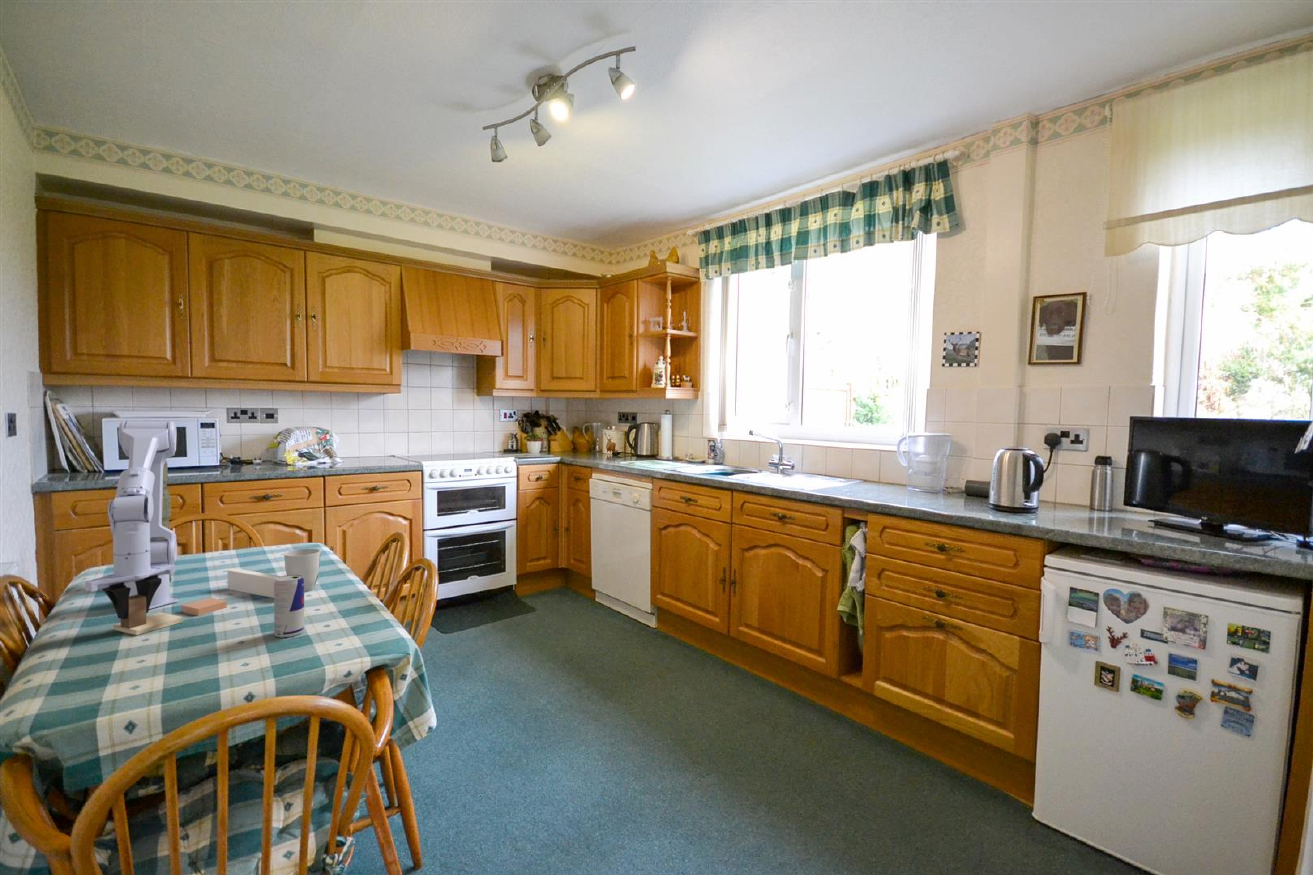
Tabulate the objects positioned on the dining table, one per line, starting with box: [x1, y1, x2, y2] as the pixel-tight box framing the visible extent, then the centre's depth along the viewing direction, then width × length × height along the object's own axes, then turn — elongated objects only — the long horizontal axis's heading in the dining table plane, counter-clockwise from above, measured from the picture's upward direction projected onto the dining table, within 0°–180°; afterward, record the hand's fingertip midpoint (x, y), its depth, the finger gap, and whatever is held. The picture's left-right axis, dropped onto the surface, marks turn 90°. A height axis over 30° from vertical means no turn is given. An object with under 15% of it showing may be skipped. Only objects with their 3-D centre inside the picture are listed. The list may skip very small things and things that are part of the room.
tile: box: [181, 597, 228, 616], centre depth 132 cm, size 6×6×2 cm
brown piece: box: [113, 594, 184, 636], centre depth 122 cm, size 8×8×7 cm
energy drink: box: [273, 574, 305, 639], centre depth 119 cm, size 5×5×12 cm
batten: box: [226, 568, 281, 599], centre depth 144 cm, size 22×2×5 cm, turn 70°
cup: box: [283, 547, 321, 593], centre depth 148 cm, size 8×8×10 cm
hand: (133, 615), depth 119 cm, fingers closed on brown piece, 3 cm apart
